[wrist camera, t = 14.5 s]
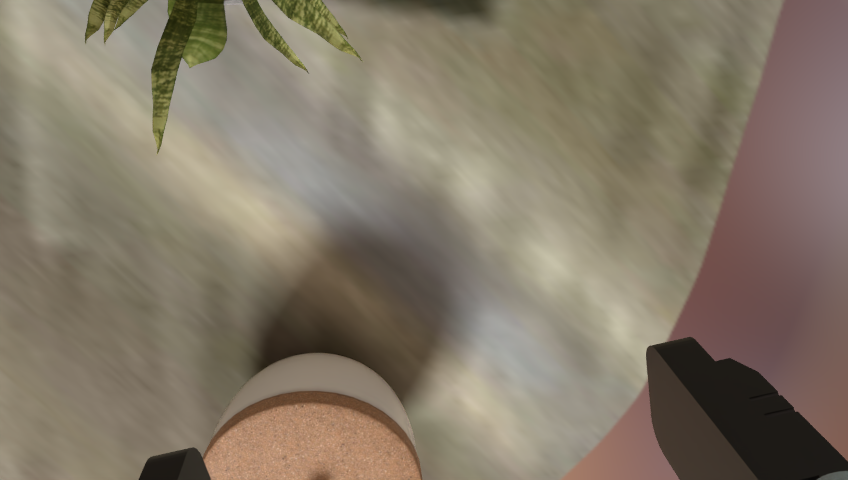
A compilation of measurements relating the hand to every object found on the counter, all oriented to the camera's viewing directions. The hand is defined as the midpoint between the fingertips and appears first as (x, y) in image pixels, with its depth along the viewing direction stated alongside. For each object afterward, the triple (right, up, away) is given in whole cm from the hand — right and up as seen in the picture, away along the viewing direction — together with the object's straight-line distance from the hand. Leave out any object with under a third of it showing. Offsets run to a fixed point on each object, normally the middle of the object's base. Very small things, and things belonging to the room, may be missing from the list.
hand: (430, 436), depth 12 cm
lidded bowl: (-7, -7, +35) cm, 36 cm away
